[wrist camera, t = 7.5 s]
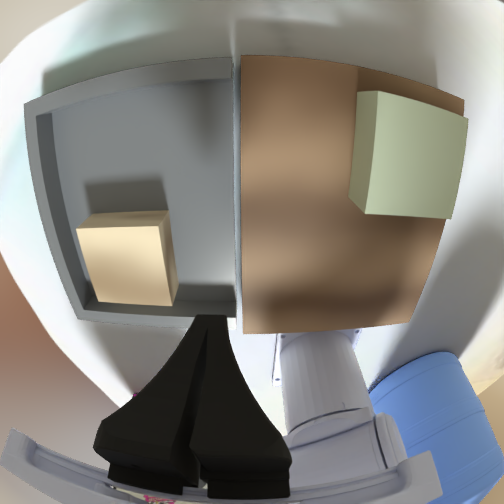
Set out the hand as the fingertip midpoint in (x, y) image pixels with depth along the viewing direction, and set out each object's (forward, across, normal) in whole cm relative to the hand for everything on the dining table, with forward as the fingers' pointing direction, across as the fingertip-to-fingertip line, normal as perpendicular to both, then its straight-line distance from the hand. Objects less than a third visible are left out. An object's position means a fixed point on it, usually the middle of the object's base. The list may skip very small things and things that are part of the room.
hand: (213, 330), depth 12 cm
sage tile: (+5, -10, -7) cm, 14 cm away
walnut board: (+8, -8, -3) cm, 12 cm away
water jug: (+9, -25, +23) cm, 35 cm away
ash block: (+5, +7, 0) cm, 8 cm away
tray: (+8, +6, -3) cm, 11 cm away
